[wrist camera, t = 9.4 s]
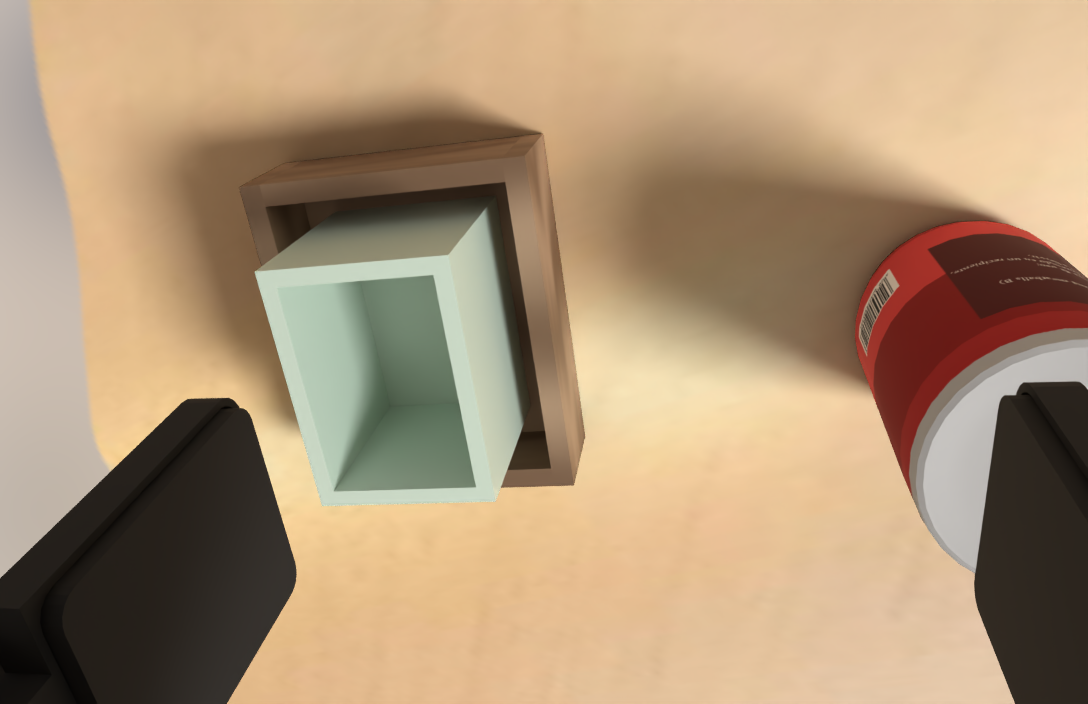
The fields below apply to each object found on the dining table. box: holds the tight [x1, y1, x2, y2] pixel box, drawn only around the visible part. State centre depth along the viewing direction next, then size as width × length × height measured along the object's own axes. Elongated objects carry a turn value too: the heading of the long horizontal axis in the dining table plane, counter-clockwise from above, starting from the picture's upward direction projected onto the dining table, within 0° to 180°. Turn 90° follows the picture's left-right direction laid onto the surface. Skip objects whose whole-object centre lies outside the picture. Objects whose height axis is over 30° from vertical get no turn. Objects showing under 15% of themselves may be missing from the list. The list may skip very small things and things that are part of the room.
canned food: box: [855, 221, 1088, 573], centre depth 28 cm, size 8×8×11 cm
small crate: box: [255, 196, 530, 506], centre depth 32 cm, size 9×6×7 cm
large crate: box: [239, 134, 585, 488], centre depth 34 cm, size 13×10×4 cm
